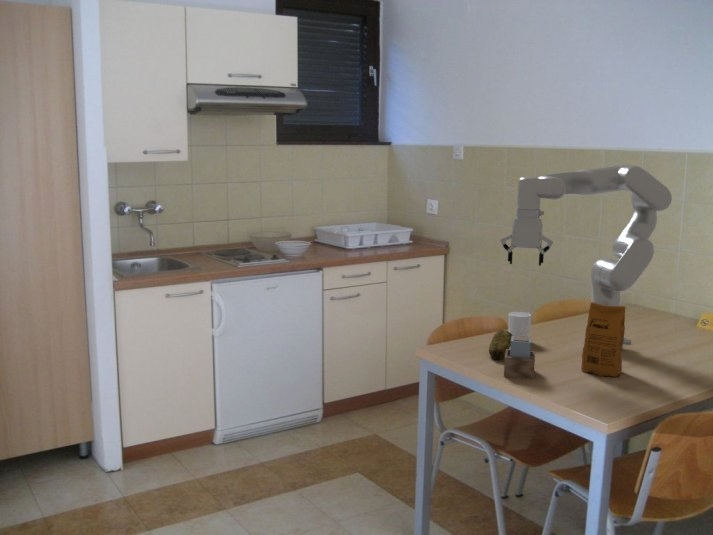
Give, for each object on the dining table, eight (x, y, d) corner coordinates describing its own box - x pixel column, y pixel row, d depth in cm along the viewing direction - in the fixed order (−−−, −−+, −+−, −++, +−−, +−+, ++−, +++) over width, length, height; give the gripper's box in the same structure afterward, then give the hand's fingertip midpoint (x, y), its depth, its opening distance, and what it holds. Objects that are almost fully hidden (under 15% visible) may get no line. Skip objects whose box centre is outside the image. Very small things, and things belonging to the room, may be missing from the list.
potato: (478, 357, 249) (479, 334, 248) (498, 349, 259) (499, 326, 258) (500, 362, 244) (501, 338, 243) (519, 354, 254) (520, 331, 252)
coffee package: (586, 364, 244) (591, 298, 240) (625, 371, 237) (630, 303, 233) (576, 371, 236) (581, 303, 232) (616, 379, 229) (621, 309, 225)
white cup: (528, 338, 273) (529, 312, 271) (530, 344, 265) (532, 317, 264) (506, 337, 274) (507, 311, 272) (508, 343, 266) (509, 316, 264)
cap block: (529, 356, 234) (531, 336, 233) (529, 361, 229) (530, 341, 227) (510, 354, 236) (511, 335, 235) (509, 359, 230) (510, 340, 229)
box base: (533, 370, 236) (534, 351, 235) (533, 379, 228) (534, 359, 227) (504, 367, 238) (505, 349, 237) (503, 376, 230) (504, 357, 229)
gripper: (554, 214, 251) (551, 263, 254) (502, 212, 255) (499, 261, 258) (554, 216, 244) (551, 267, 247) (501, 214, 248) (498, 264, 251)
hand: (525, 264), depth 253 cm, fingers open, 9 cm apart
